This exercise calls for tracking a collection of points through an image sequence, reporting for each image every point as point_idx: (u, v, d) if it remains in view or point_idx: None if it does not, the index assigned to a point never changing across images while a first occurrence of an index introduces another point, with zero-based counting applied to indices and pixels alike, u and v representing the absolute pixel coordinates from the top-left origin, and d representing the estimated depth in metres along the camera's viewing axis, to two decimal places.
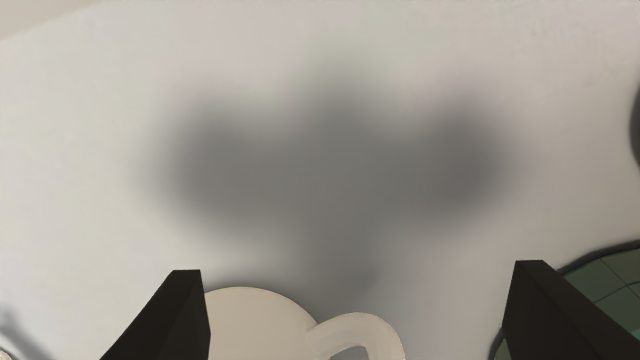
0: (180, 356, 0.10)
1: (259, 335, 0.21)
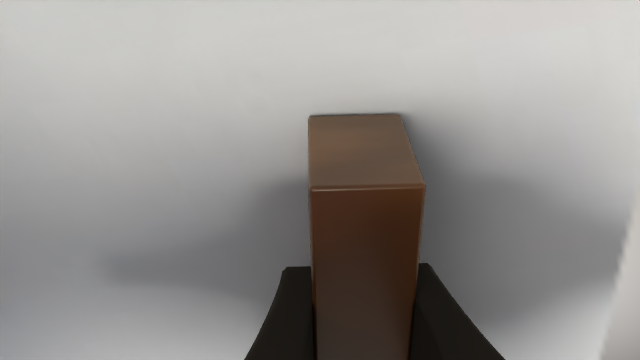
0: (311, 353, 0.10)
1: None
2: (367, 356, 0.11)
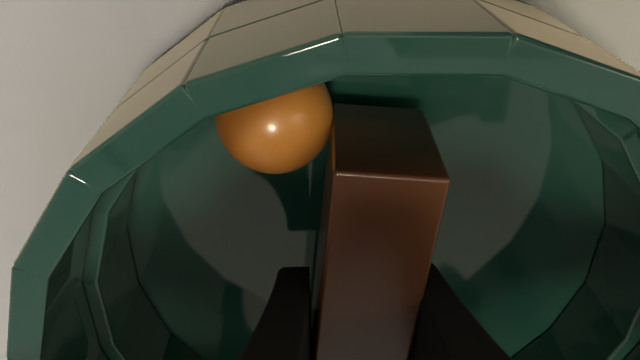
0: (306, 353, 0.10)
1: None
2: (369, 349, 0.11)
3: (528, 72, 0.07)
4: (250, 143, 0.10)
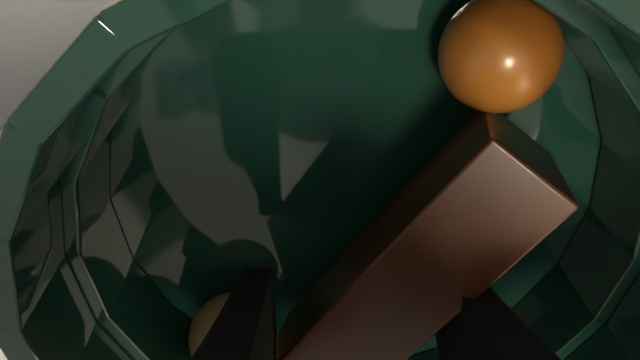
0: (262, 355, 0.10)
1: None
2: (391, 319, 0.11)
3: None
4: (502, 48, 0.10)
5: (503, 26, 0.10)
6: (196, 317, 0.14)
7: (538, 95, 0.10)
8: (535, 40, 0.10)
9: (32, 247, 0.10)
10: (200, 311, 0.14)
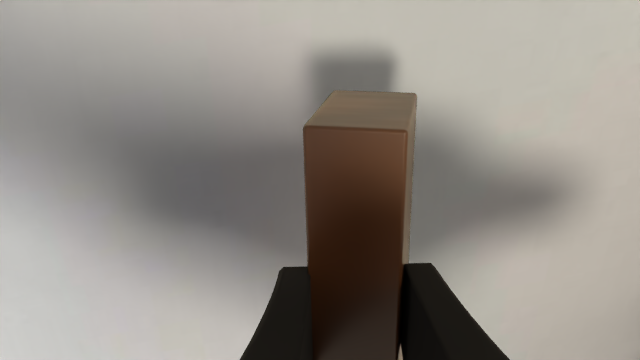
0: (307, 353, 0.10)
1: None
2: (358, 313, 0.12)
3: None
4: None
5: None
6: None
7: None
8: None
9: None
10: None
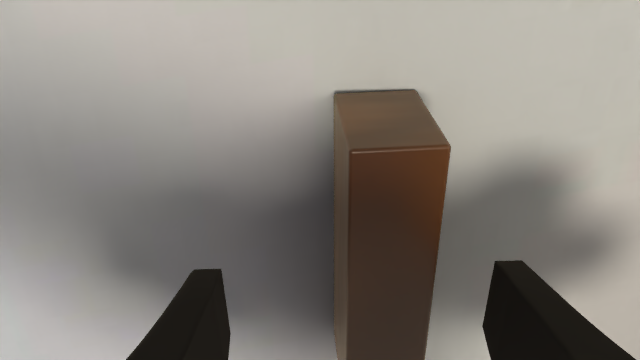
0: (205, 356, 0.10)
1: None
2: (394, 307, 0.12)
3: None
4: None
5: None
6: None
7: None
8: None
9: None
10: None
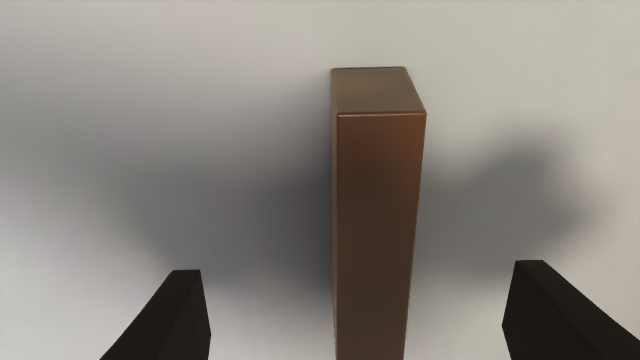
0: (180, 356, 0.10)
1: None
2: (379, 261, 0.14)
3: None
4: None
5: None
6: None
7: None
8: None
9: None
10: None
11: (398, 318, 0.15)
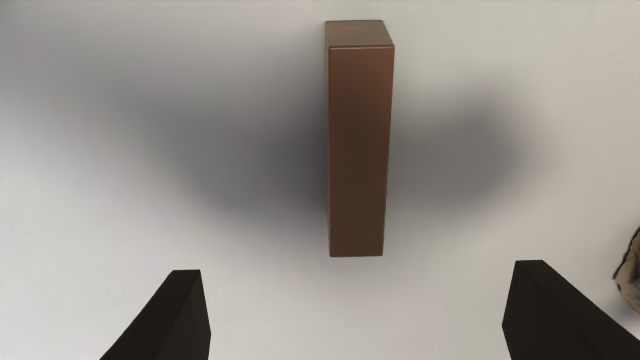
0: (180, 357, 0.10)
1: None
2: (362, 167, 0.18)
3: None
4: None
5: None
6: None
7: None
8: None
9: None
10: None
11: (377, 217, 0.19)
